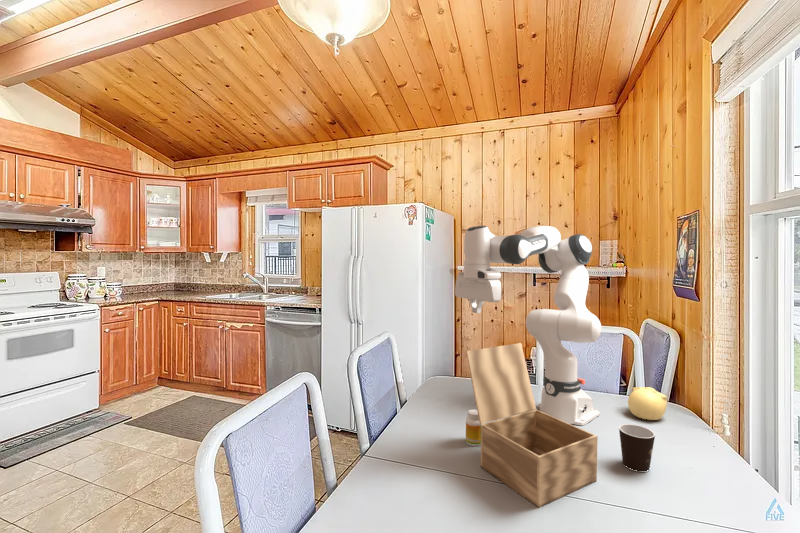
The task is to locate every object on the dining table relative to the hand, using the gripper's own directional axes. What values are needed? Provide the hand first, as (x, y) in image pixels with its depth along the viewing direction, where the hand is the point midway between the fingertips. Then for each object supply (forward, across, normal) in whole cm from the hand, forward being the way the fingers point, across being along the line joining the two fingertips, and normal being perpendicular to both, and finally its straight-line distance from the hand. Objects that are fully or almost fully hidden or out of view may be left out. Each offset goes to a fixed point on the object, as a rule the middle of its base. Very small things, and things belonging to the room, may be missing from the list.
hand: (476, 312), depth 134 cm
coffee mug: (+39, +43, +23) cm, 63 cm away
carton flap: (+17, +19, -6) cm, 26 cm away
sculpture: (+39, +26, +59) cm, 76 cm away
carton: (+39, +32, -6) cm, 51 cm away
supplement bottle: (+39, +10, -9) cm, 42 cm away
